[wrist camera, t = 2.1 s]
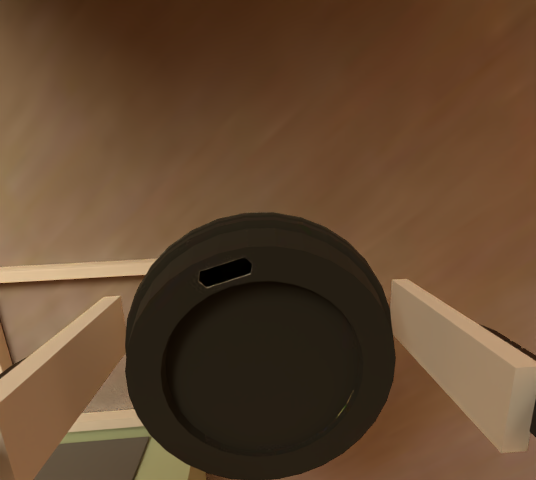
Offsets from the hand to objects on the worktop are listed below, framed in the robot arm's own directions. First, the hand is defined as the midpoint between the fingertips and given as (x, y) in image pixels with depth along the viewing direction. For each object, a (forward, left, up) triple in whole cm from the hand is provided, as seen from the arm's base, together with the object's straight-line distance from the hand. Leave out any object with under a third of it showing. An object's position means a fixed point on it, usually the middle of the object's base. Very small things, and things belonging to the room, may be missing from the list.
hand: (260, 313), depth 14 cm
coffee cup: (0, 0, -10) cm, 10 cm away
